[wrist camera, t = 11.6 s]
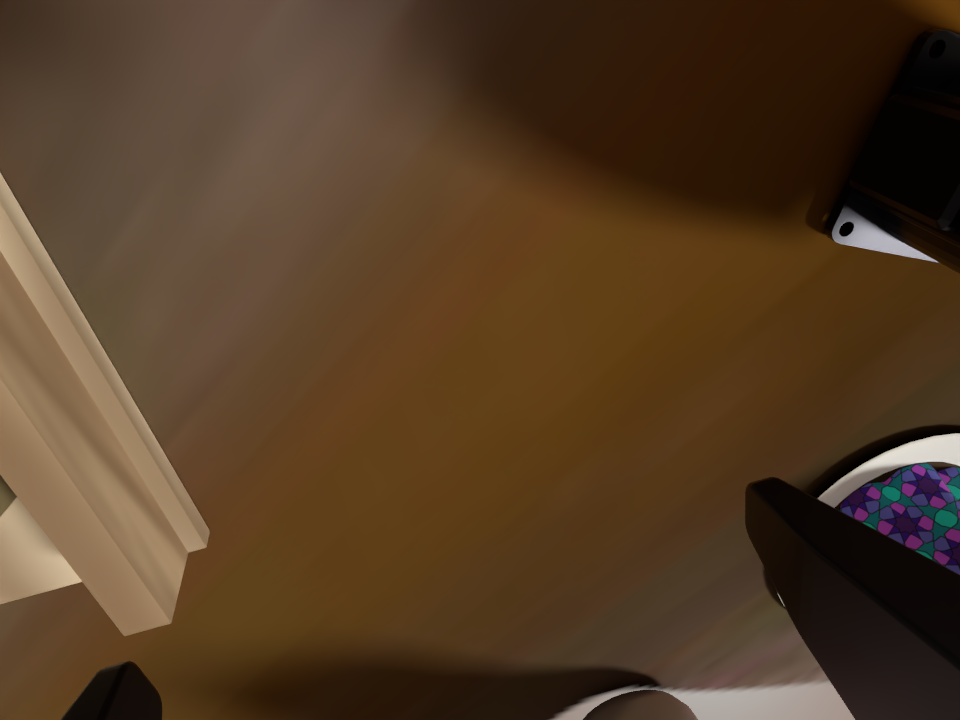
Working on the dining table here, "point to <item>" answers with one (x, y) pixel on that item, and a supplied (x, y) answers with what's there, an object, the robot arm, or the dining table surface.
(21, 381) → the cradle
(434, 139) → the dining table surface
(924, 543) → the patterned bowl
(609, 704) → the plastic bottle
